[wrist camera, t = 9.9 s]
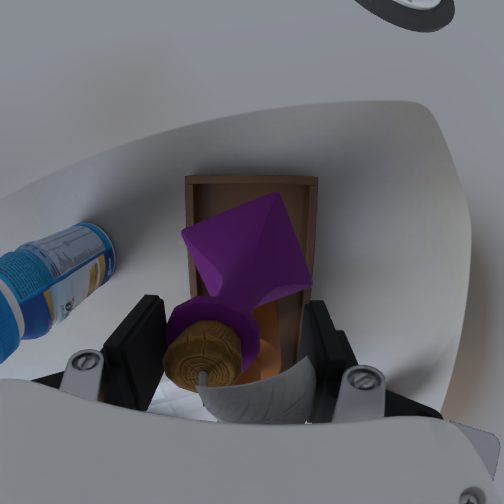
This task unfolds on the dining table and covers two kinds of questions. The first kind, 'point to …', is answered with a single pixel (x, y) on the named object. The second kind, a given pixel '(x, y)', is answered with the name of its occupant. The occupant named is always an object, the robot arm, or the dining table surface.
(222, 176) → the tray
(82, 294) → the beverage bottle
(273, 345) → the amber bottle
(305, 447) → the robot arm
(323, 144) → the dining table surface
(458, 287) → the dining table surface
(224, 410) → the perfume bottle
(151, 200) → the dining table surface
